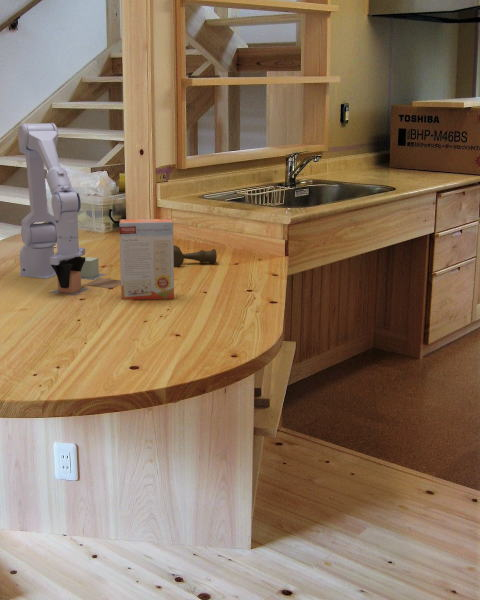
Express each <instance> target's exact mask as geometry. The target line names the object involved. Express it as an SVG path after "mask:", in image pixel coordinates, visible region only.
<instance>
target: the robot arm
mask: <svg viewBox="0 0 480 600" xmlns="http://www.w3.org/2000/svg"><path fill="white" fill-rule="evenodd" d="M17 140H18V142H17V143H18V149H19V152H20V153H21V154H23V155H24V156H25V157H24V158H25V161H26V163H25V164H26V173H27V174H26V175H27V185H28V197H29V207H30V208H29V209H30V212H29V213H28V214H27V215H25V216H24V217H23V218H22V220H21V228H20V235H21V240H22V243H23V244H24V245H23V246H22V247H21V248H20V251H19V265H20V267H19V268H20V273H19V274H18V275H19V277H26V278H33V279H35V278H36V279H47V280H48V279H50V278H53V277H56V278H57V277H58V279H57V281H58V280H59V284H60V287H61V288H68V287H69V277H70V271H80V272H81V269H82V267H83V264H84V262H85V257H86V256H85V255H86V247H80V245H79V217H78V215H79V214H78V213H79V212H80V211H81V208H82V201H81V195H80V193H79V192H78V190H76V188H75V187H73V186H72V183H71V181H70V177H69V176H68V175H69V174H68V172H67V170H66V169H65V168H63V167H61V164H60V160H59V157H58V156H59V155H58V151H57V146H58V142H59V141H58V140H59V130H58V128H57V125H56V124H55V123H54V122H49V123H48V122H47V123H24V122H23V123H20V125H19V126H18V129H17ZM45 168H46V171H47V173H45ZM46 181H47V182H46ZM46 183H47V185H48V189H49V190H50V194H51V208H52V212H53V214H51V213H50V212H49V209H48V199H47V188H46V186H47V185H46ZM55 247H56V252H55Z"/></svg>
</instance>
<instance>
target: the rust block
mask: <svg viewBox="0 0 480 600" xmlns="http://www.w3.org/2000/svg"><path fill="white" fill-rule="evenodd" d="M56 278H57V289H58V292H66V293H74V292H76V291H79V290H81V288H82V279H81V272H80V271H70V277H69V287H68V288H61V287H60V284H59V280H58V277H57V276H56Z"/></svg>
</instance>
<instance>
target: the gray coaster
mask: <svg viewBox="0 0 480 600" xmlns="http://www.w3.org/2000/svg"><path fill="white" fill-rule="evenodd" d="M104 276H107V273H100V272H99V275H97V276H95V277H92V278H86V277H81V280H90V281H94V280H96V279H98V278H102V277H104Z"/></svg>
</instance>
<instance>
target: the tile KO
mask: <svg viewBox="0 0 480 600" xmlns="http://www.w3.org/2000/svg"><path fill="white" fill-rule="evenodd" d="M88 290H90V288H87V287H81V290H79V291H76V292H74V293H66V292H58V288H56V289H54V290H52V291H50V292H48V293H49V294H58V295H60V294H61V295H66V296H67V295H68V296H77V295H80V294H82V293H84V292H87V291H88Z"/></svg>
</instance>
